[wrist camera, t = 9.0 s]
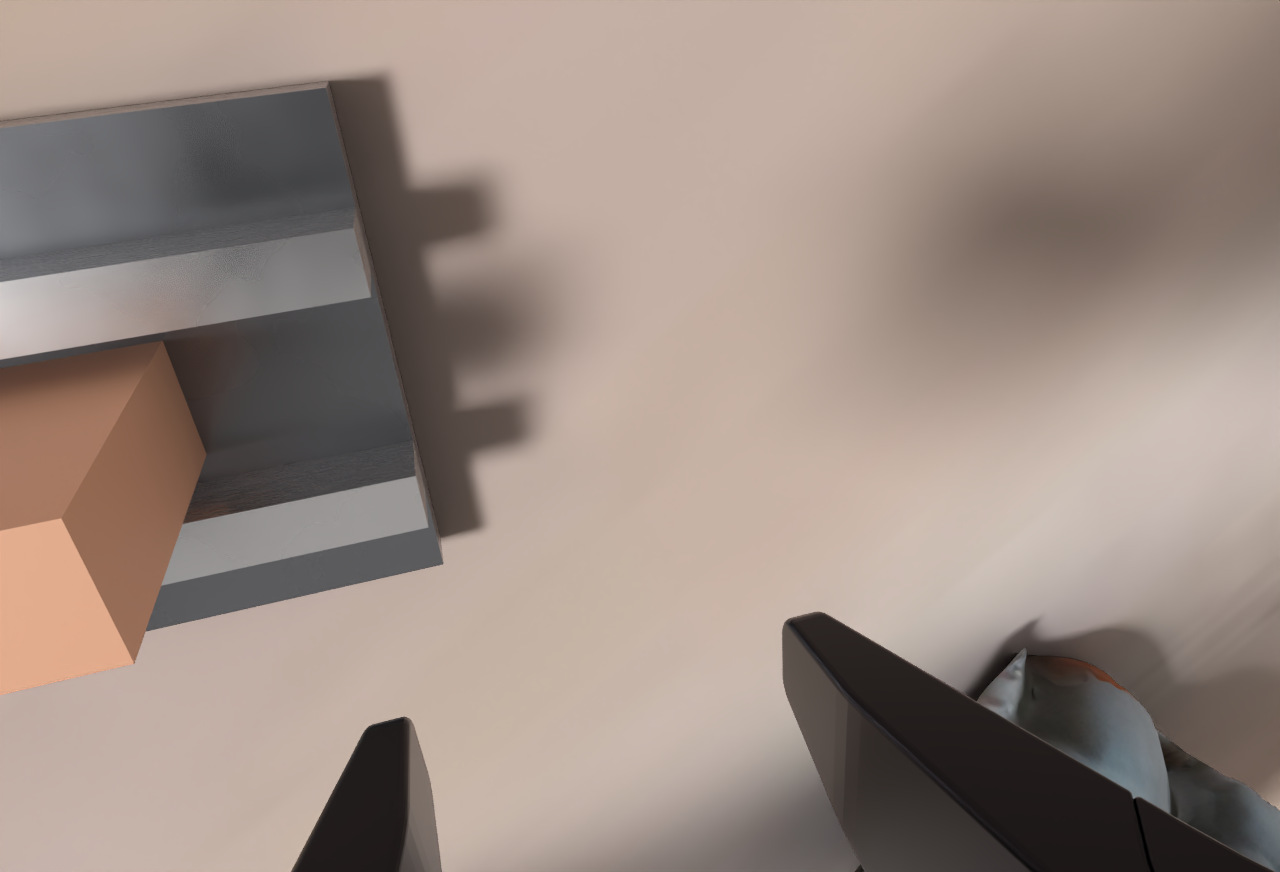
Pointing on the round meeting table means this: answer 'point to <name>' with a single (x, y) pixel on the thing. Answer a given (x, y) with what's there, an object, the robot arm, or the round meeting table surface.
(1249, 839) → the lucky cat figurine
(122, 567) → the tan flat rectangular block
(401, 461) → the track base
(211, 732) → the round meeting table surface
